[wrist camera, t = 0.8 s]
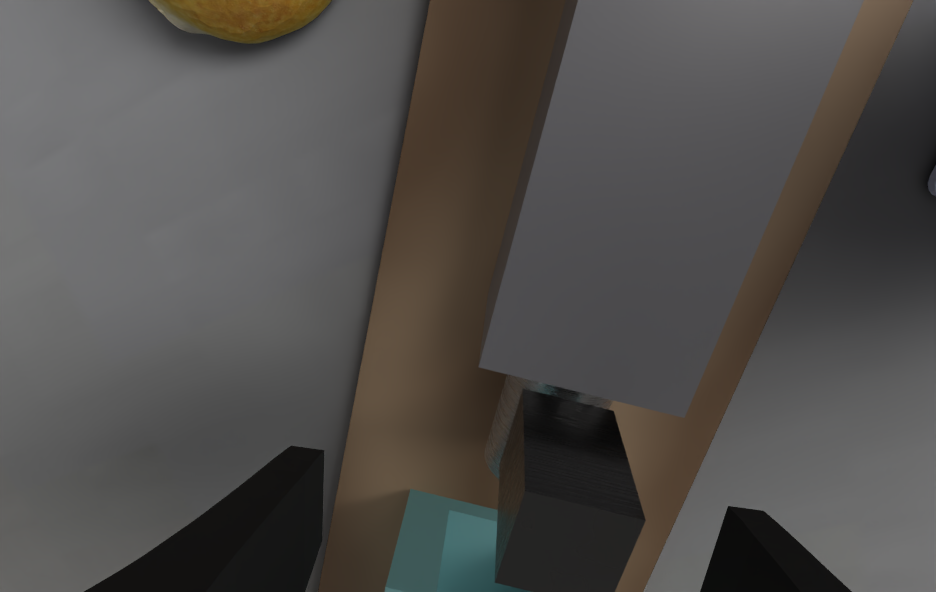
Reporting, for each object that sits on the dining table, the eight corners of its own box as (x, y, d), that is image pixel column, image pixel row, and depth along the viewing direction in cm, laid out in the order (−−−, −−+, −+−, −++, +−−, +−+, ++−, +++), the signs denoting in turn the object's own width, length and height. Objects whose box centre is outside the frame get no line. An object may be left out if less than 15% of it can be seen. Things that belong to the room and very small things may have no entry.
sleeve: (817, -135, 14) (965, -239, 9) (642, 332, 19) (684, 418, 14) (614, -186, 14) (664, -318, 9) (487, 294, 19) (478, 367, 14)
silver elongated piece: (749, -32, 14) (951, -126, 8) (577, 447, 19) (608, 640, 13) (627, -64, 14) (724, -184, 8) (486, 424, 19) (471, 607, 12)
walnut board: (959, -152, 15) (989, -168, 14) (585, 689, 26) (587, 712, 25) (488, -274, 14) (486, -298, 14) (315, 624, 25) (307, 645, 25)
